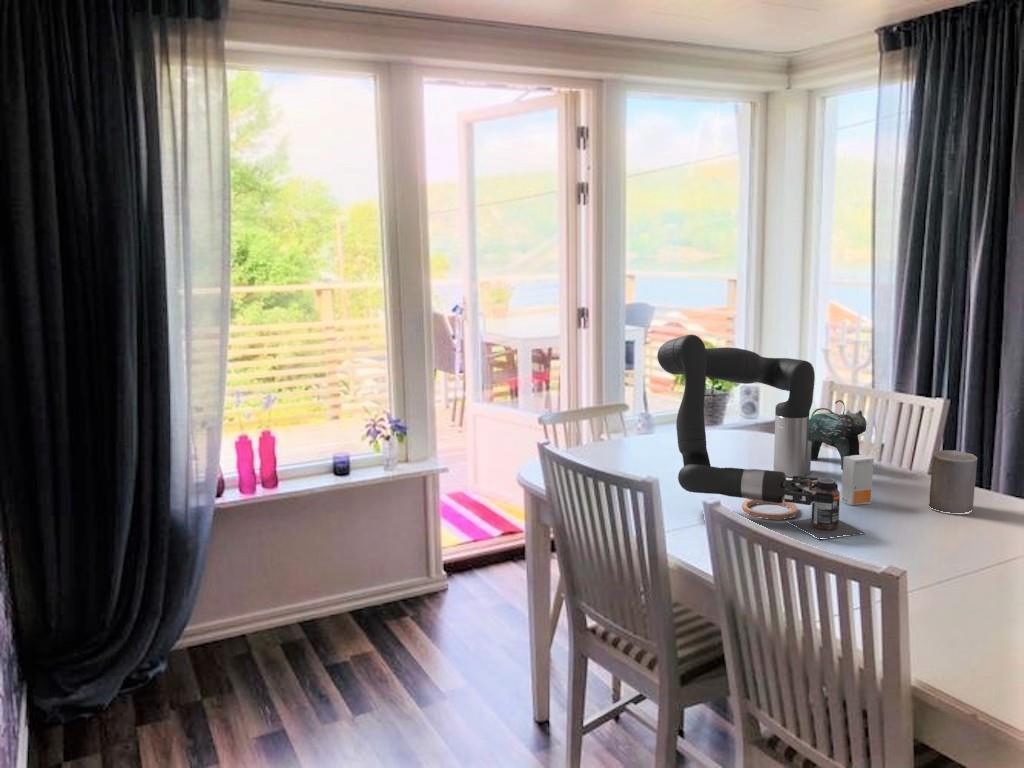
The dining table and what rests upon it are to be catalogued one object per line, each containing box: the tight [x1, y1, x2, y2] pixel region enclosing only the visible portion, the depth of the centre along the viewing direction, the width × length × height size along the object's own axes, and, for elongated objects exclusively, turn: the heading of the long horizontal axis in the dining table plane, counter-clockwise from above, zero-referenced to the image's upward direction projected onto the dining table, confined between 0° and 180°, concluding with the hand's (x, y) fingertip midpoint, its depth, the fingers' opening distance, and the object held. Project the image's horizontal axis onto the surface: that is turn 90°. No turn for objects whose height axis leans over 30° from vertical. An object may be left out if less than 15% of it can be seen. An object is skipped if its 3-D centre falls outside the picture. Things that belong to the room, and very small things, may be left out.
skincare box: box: [840, 454, 875, 506], centre depth 202 cm, size 6×4×12 cm
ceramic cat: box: [808, 399, 867, 471], centre depth 235 cm, size 20×6×20 cm, turn 25°
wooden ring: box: [741, 499, 799, 520], centre depth 199 cm, size 13×13×1 cm
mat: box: [787, 517, 865, 539], centre depth 186 cm, size 12×12×1 cm
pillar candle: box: [928, 449, 978, 513], centre depth 195 cm, size 10×10×15 cm
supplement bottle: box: [811, 477, 841, 530], centre depth 185 cm, size 6×6×11 cm
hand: (835, 493), depth 183 cm, fingers open, 8 cm apart
